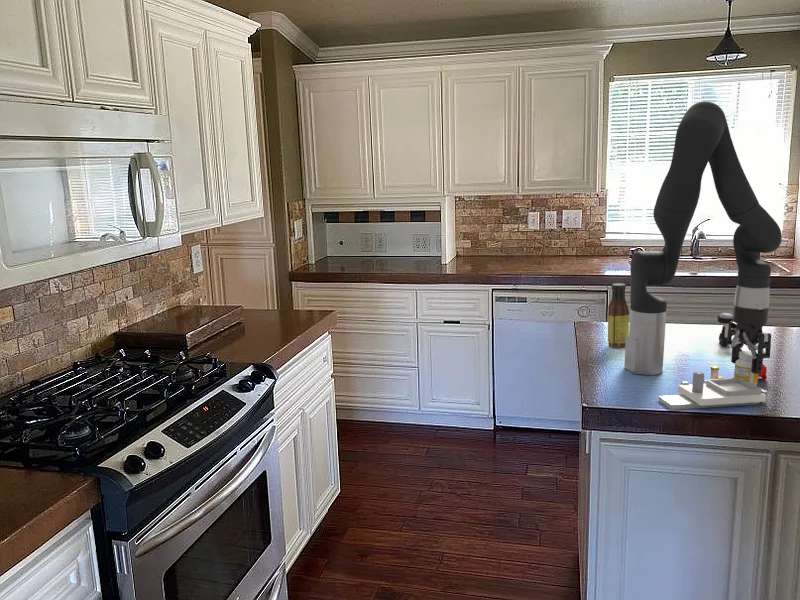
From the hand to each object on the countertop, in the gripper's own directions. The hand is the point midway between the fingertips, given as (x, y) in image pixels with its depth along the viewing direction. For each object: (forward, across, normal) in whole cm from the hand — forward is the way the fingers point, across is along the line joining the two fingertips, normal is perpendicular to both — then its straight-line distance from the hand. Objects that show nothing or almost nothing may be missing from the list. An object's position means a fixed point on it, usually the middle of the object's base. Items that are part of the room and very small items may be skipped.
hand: (745, 368), depth 164 cm
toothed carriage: (+5, +6, -10) cm, 12 cm away
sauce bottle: (+6, -43, -15) cm, 46 cm away
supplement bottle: (+6, -1, +1) cm, 6 cm away
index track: (+6, +4, -12) cm, 14 cm away
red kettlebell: (+6, -7, +7) cm, 12 cm away
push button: (+6, -41, +18) cm, 45 cm away
